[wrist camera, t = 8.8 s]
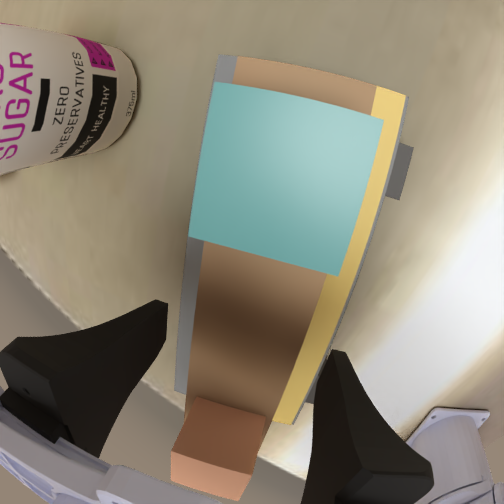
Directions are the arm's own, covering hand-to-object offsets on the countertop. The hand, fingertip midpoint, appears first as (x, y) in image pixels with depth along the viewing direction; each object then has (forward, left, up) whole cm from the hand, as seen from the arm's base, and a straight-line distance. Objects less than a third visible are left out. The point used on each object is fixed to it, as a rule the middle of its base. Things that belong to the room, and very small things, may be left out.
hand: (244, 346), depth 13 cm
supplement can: (+9, +15, -9) cm, 20 cm away
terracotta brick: (-7, 0, -1) cm, 8 cm away
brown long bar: (0, 0, -6) cm, 6 cm away
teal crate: (+8, 0, -1) cm, 8 cm away
